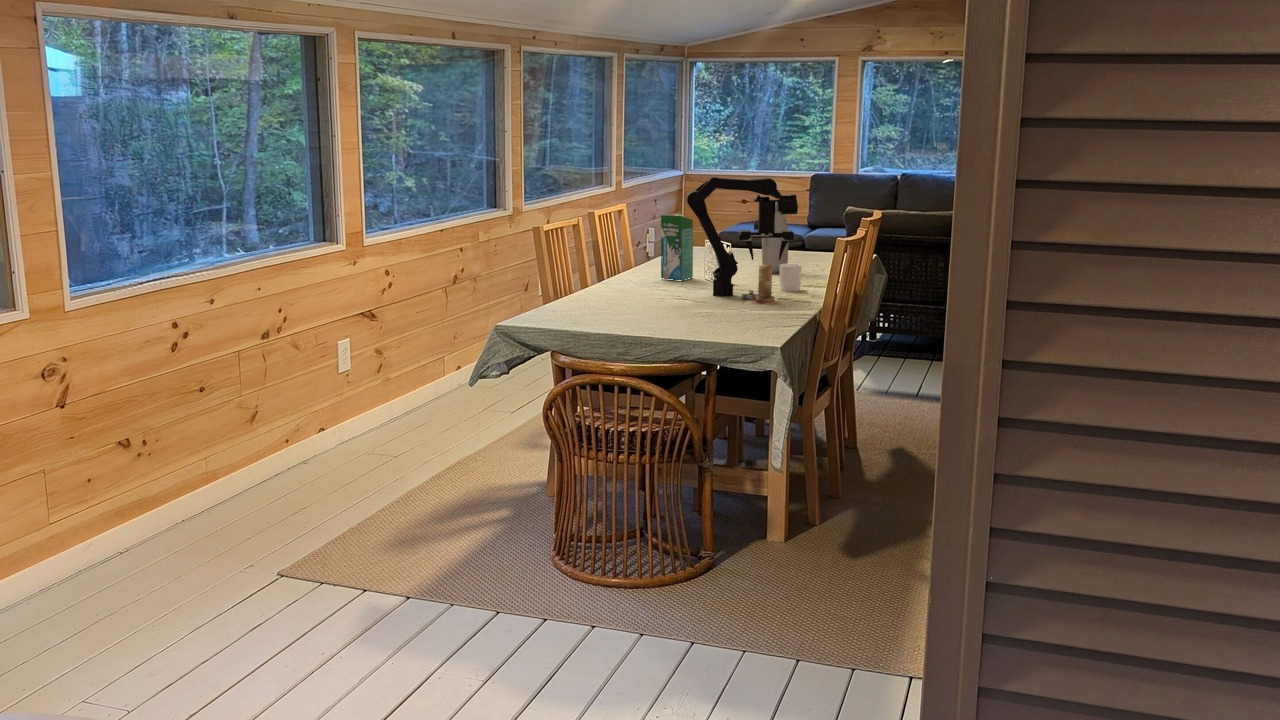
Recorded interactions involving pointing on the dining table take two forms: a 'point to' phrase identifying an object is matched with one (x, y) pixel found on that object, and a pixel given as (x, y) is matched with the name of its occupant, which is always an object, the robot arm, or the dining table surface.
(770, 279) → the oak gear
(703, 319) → the dining table surface
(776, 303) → the gear board
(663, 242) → the milk carton
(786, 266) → the white cup
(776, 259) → the grey bottle
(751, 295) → the metal gear
